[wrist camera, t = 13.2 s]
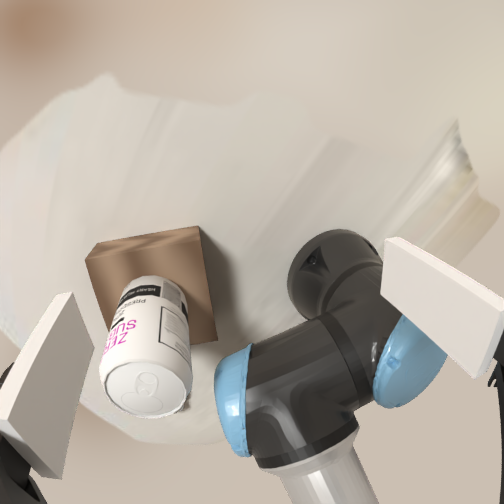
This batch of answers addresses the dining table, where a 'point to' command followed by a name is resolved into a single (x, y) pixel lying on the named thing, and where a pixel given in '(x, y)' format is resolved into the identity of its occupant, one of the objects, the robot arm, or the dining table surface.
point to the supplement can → (148, 350)
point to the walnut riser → (155, 263)
